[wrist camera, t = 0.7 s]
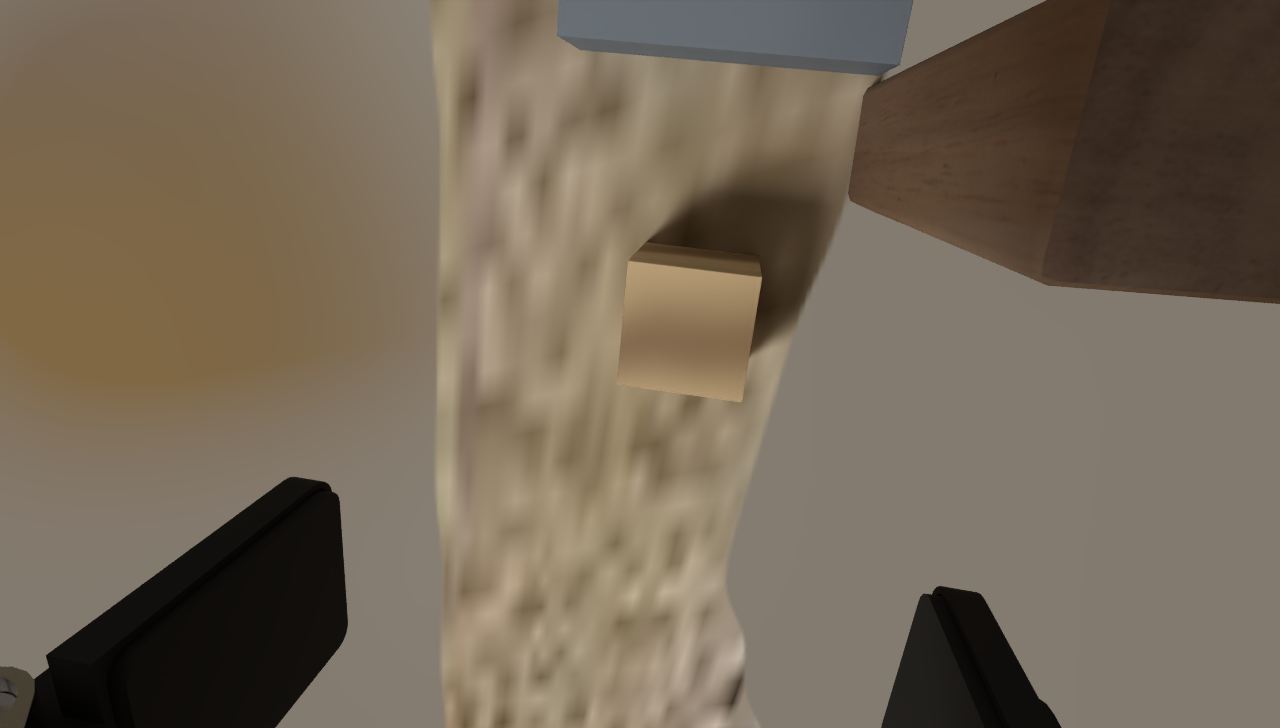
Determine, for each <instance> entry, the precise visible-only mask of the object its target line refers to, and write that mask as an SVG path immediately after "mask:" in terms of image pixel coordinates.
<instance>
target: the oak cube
mask: <svg viewBox="0 0 1280 728" xmlns="http://www.w3.org/2000/svg"><path fill="white" fill-rule="evenodd" d="M761 281H762V274H761V268H760V263H759V257H758V256H757V255H749V254H741V253H732V252H724V251H716V250H707V249H699V248H691V247H682V246H674V245H666V244H658V243H649V242H646V243H645V244H644V245H643V246H642V247H641V248H640V249H639V250H638V251H637V252H636V253H635V254H634V255H633V256H632V257H631V258H630V259H629V261H628V268H627V279H626V290H625V301H624V312H623V323H622V334H621V345H620V356H619V367H618V378H617V384H618V385H625V386H632V387H639V388H646V389H653V390H660V391H667V392H673V393H680V394H687V395H694V396H701V397H708V398H715V399H722V400H729V401H736V402H742V398H743V391H744V385H745V379H746V373H747V367H748V361H749V355H750V349H751V343H752V336H753V330H754V324H755V318H756V312H757V306H758V300H759V294H760V287H761Z"/></svg>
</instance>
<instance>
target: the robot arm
mask: <svg viewBox="0 0 1280 728" xmlns="http://www.w3.org/2000/svg"><path fill="white" fill-rule="evenodd" d="M347 627H348V617H347V602H346V589H345V573H344V558H343V544H342V529H341V514H340V501H339V497H338V495H337V494H336V493H333V492H332V490H331V487H330V486H329V484H327V483H326V482H322V481H316V480H310V479H305V478H299V477H289V478H287V479H286V480H284V481H283V482H281V483H280V484H279V485H277V486H276V487H274V488H273V489H272V490H270V491H269V492H268V493H266V494H265V495H264V496H262V497H261V498H260V499H258V500H257V501H255V502H254V503H253V504H251V505H250V506H249V507H247V508H246V509H245V510H243V511H242V512H240V513H239V514H238V515H236V516H235V517H234V518H232V519H231V520H230V521H228V522H227V523H226V524H224V525H223V526H221V527H220V528H219V529H217V530H216V531H215V532H213V533H212V534H211V535H209V536H208V537H206V538H205V539H204V540H202V541H201V542H200V543H198V544H197V545H196V546H194V547H193V548H191V549H190V550H189V551H187V552H186V553H185V554H183V555H182V556H181V557H179V558H178V559H177V560H175V561H174V562H172V563H171V564H170V565H168V566H167V567H166V568H164V569H163V570H162V571H160V572H159V573H157V574H156V575H155V576H153V577H152V578H151V579H149V580H148V581H147V582H145V583H144V584H142V585H141V586H140V587H138V588H137V589H136V590H134V591H133V592H131V593H130V594H129V595H127V596H126V597H125V598H123V599H122V600H121V601H119V602H118V603H117V604H115V605H114V606H112V607H111V608H110V609H108V610H107V611H106V612H104V613H103V614H102V615H100V616H99V617H98V618H96V619H95V620H93V621H92V622H91V623H89V624H88V625H87V626H85V627H84V628H82V629H81V630H80V631H78V632H77V633H76V634H75V635H73V636H72V637H70V638H69V639H68V640H66V641H65V642H63V643H62V644H61V645H59V646H58V647H57V648H55V649H54V650H53V651H51V652H50V653H48V654H47V655H46V658H47V661H48V665H49V668H48V669H47V670H46V671H44V672H43V673H42V674H40V675H39V676H38V677H36V678H35V679H33V678H32V677H31V675H30V674H29V673H28V672H27V671H24V670H21V669H18V668H14V667H0V728H275V727H276V726H277V725H278V724H279V722H280V721H281V720H282V719H283V717H284V716H285V715H286V713H287V712H288V711H289V710H290V709H291V707H292V706H293V705H294V703H295V702H296V701H297V700H298V698H299V697H300V696H301V695H302V694H303V692H304V691H305V690H306V688H307V687H308V686H309V685H310V683H311V682H312V681H313V680H314V678H315V677H316V676H317V675H318V673H319V672H320V671H321V670H322V668H323V667H324V666H325V665H326V663H327V662H328V661H329V660H330V658H331V657H332V656H333V655H334V653H335V652H336V651H337V650H338V648H339V647H340V645H341V644H342V642H343V640H344V637H345V635H346V632H347ZM881 728H1061V726H1060V724H1059V723H1058V721H1057V719H1056V717H1055V715H1054V714H1053V712H1052V711H1051V709H1050V708H1049V707H1048V705H1047V704H1046V703H1044V702H1043V701H1042V700H1040V699H1039V698H1038V696H1037V694H1036V693H1035V691H1034V689H1033V687H1032V685H1031V683H1030V682H1029V680H1028V678H1027V676H1026V674H1025V672H1024V671H1023V669H1022V667H1021V665H1020V663H1019V661H1018V660H1017V658H1016V656H1015V655H1014V652H1013V651H1012V649H1011V647H1010V645H1009V643H1008V641H1007V640H1006V638H1005V636H1004V634H1003V632H1002V630H1001V629H1000V627H999V625H998V623H997V621H996V620H995V618H994V616H993V614H992V612H991V610H990V608H989V607H988V605H987V603H986V601H985V599H984V598H983V597H982V595H981V594H979V593H977V592H972V591H966V590H960V589H954V588H948V587H943V586H939V587H936V588H935V590H934V591H933V593H932V595H930V594H923V595H922V596H921V597H920V600H919V602H918V605H917V609H916V612H915V615H914V619H913V622H912V625H911V629H910V632H909V635H908V639H907V642H906V646H905V649H904V652H903V656H902V659H901V662H900V666H899V669H898V672H897V676H896V679H895V682H894V686H893V689H892V692H891V696H890V699H889V702H888V706H887V709H886V713H885V716H884V719H883V723H882V727H881Z"/></svg>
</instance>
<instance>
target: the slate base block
mask: <svg viewBox="0 0 1280 728" xmlns="http://www.w3.org/2000/svg"><path fill="white" fill-rule="evenodd" d="M912 3H913V0H559V10H558V32H557V36H559V37H560V38H562V39H563V40H565V41H567V42H568V43H570V44H572V45H573V46H575V47H576V48H578V49H580V50H588V51H599V52H610V53H622V54H633V55H645V56H656V57H668V58H679V59H691V60H702V61H714V62H725V63H737V64H748V65H760V66H771V67H783V68H794V69H806V70H817V71H829V72H840V73H852V74H863V75H875V76H878V75H880V74H882V73H884V72H886V71H888V70H890V69H892V68H894V67H896V66H898V65H900V61H901V56H902V51H903V47H904V42H905V37H906V32H907V28H908V22H909V18H910V13H911V9H912Z"/></svg>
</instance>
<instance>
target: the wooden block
mask: <svg viewBox="0 0 1280 728" xmlns="http://www.w3.org/2000/svg"><path fill="white" fill-rule="evenodd" d="M848 194H849V198H850V201H852V202H854V203H856V204H858V205H860V206H862V207H865V208H867V209H869V210H871V211H874V212H876V213H878V214H880V215H883V216H885V217H888V218H890V219H893V220H895V221H897V222H900V223H902V224H905V225H907V226H910V227H912V228H914V229H917V230H919V231H921V232H924V233H926V234H928V235H931V236H933V237H935V238H938V239H940V240H942V241H945V242H947V243H949V244H952V245H954V246H956V247H959V248H961V249H964V250H966V251H968V252H970V253H973V254H975V255H978V256H980V257H982V258H985V259H987V260H989V261H992V262H994V263H996V264H999V265H1001V266H1004V267H1006V268H1008V269H1010V270H1013V271H1015V272H1017V273H1020V274H1022V275H1024V276H1027V277H1029V278H1031V279H1034V280H1036V281H1038V282H1041V283H1043V284H1046V285H1048V286H1061V287H1074V288H1086V289H1100V290H1112V291H1124V292H1136V293H1137V292H1138V293H1149V294H1161V295H1174V296H1187V297H1199V298H1212V299H1224V300H1238V301H1250V302H1262V303H1263V302H1264V303H1276V304H1280V0H1046V1H1045V2H1043V3H1040V4H1038V5H1036V6H1034V7H1032V8H1030V9H1028V10H1026V11H1024V12H1022V13H1020V14H1018V15H1016V16H1014V17H1012V18H1010V19H1008V20H1006V21H1004V22H1002V23H1000V24H998V25H996V26H994V27H992V28H989V29H987V30H986V31H983V32H981V33H979V34H977V35H975V36H973V37H971V38H969V39H967V40H965V41H963V42H961V43H959V44H957V45H955V46H953V47H951V48H949V49H947V50H945V51H943V52H941V53H939V54H937V55H935V56H933V57H931V58H928V59H927V60H925V61H922V62H920V63H918V64H916V65H914V66H912V67H910V68H908V69H906V70H904V71H902V72H900V73H898V74H896V75H894V76H892V77H890V78H888V79H886V80H884V81H882V82H880V83H878V84H876V85H874V86H872V87H869V88H868V89H867V91H866V92H865V94H864V96H863V102H862V109H861V115H860V122H859V128H858V134H857V141H856V147H855V154H854V160H853V166H852V173H851V179H850V185H849V192H848Z"/></svg>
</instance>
